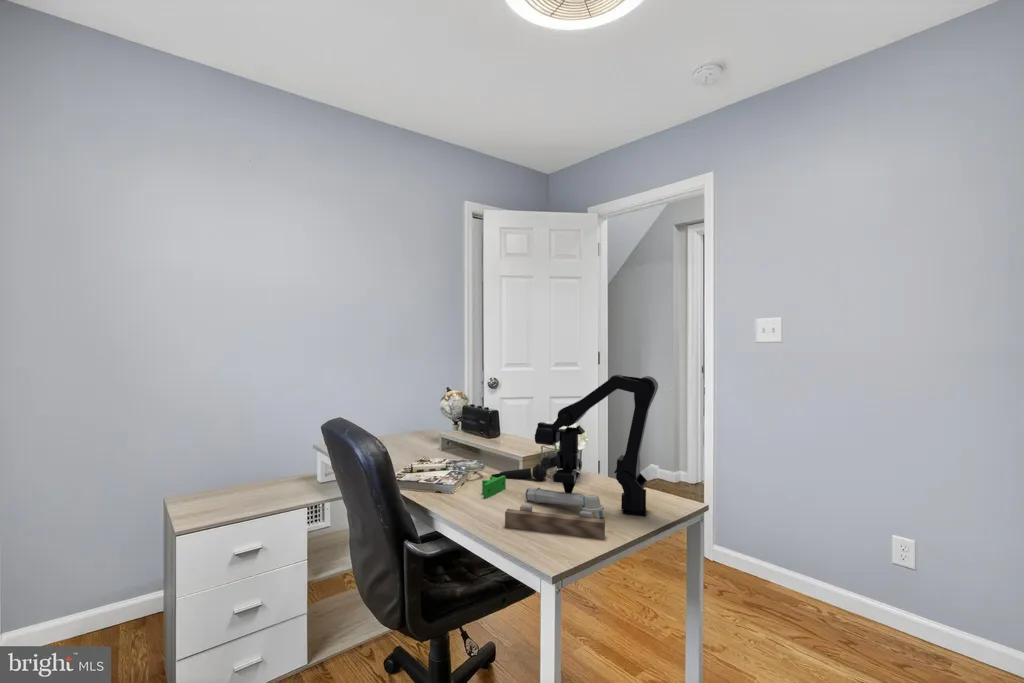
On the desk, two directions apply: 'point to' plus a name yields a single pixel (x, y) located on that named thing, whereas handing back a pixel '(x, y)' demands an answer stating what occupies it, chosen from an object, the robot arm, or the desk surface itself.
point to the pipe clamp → (493, 486)
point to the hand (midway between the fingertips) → (568, 497)
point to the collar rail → (555, 522)
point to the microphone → (524, 473)
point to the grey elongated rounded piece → (566, 500)
